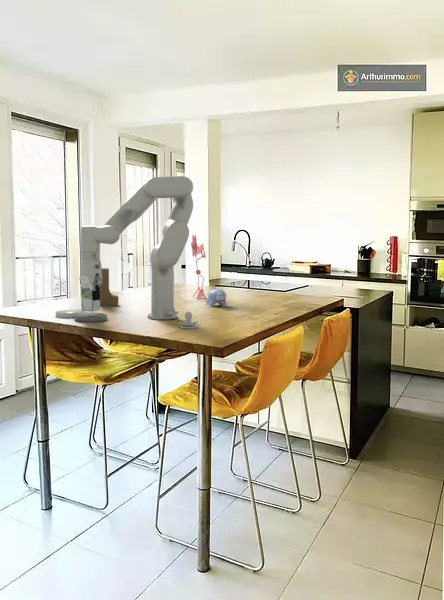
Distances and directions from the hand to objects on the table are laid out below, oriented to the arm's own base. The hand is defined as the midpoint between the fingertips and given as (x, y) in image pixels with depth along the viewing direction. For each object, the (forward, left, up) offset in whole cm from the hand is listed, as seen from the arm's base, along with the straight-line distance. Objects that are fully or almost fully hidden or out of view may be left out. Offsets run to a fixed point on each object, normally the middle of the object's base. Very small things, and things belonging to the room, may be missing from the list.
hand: (90, 298), depth 218 cm
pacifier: (-37, -21, -9) cm, 44 cm away
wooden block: (+30, -27, -9) cm, 41 cm away
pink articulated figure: (+24, -76, -9) cm, 80 cm away
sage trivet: (+14, +2, -9) cm, 17 cm away
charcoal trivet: (0, 0, -9) cm, 9 cm away
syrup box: (0, 0, -5) cm, 5 cm away
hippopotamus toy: (-3, -69, -9) cm, 70 cm away
